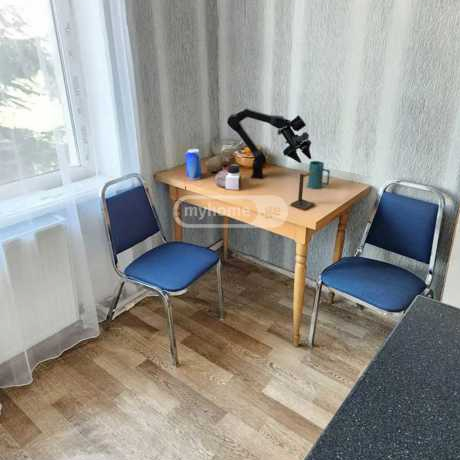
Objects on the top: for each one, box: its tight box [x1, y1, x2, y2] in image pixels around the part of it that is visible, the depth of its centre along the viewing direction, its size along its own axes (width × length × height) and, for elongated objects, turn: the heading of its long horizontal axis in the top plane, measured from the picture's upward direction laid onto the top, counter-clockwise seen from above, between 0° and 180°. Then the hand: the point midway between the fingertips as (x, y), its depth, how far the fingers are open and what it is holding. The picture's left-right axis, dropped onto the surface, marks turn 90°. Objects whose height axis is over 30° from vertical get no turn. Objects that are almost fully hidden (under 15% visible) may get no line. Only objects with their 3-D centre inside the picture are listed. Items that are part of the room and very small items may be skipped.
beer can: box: [185, 148, 203, 181], centre depth 219 cm, size 8×8×16 cm
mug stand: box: [290, 170, 316, 212], centre depth 186 cm, size 8×16×14 cm, turn 135°
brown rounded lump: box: [204, 154, 230, 173], centre depth 236 cm, size 13×8×20 cm
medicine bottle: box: [225, 164, 242, 191], centre depth 206 cm, size 7×7×12 cm
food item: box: [215, 166, 228, 189], centre depth 211 cm, size 14×8×10 cm, turn 156°
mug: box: [307, 160, 331, 190], centre depth 206 cm, size 12×7×13 cm, turn 45°
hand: (305, 160), depth 209 cm, fingers open, 9 cm apart
